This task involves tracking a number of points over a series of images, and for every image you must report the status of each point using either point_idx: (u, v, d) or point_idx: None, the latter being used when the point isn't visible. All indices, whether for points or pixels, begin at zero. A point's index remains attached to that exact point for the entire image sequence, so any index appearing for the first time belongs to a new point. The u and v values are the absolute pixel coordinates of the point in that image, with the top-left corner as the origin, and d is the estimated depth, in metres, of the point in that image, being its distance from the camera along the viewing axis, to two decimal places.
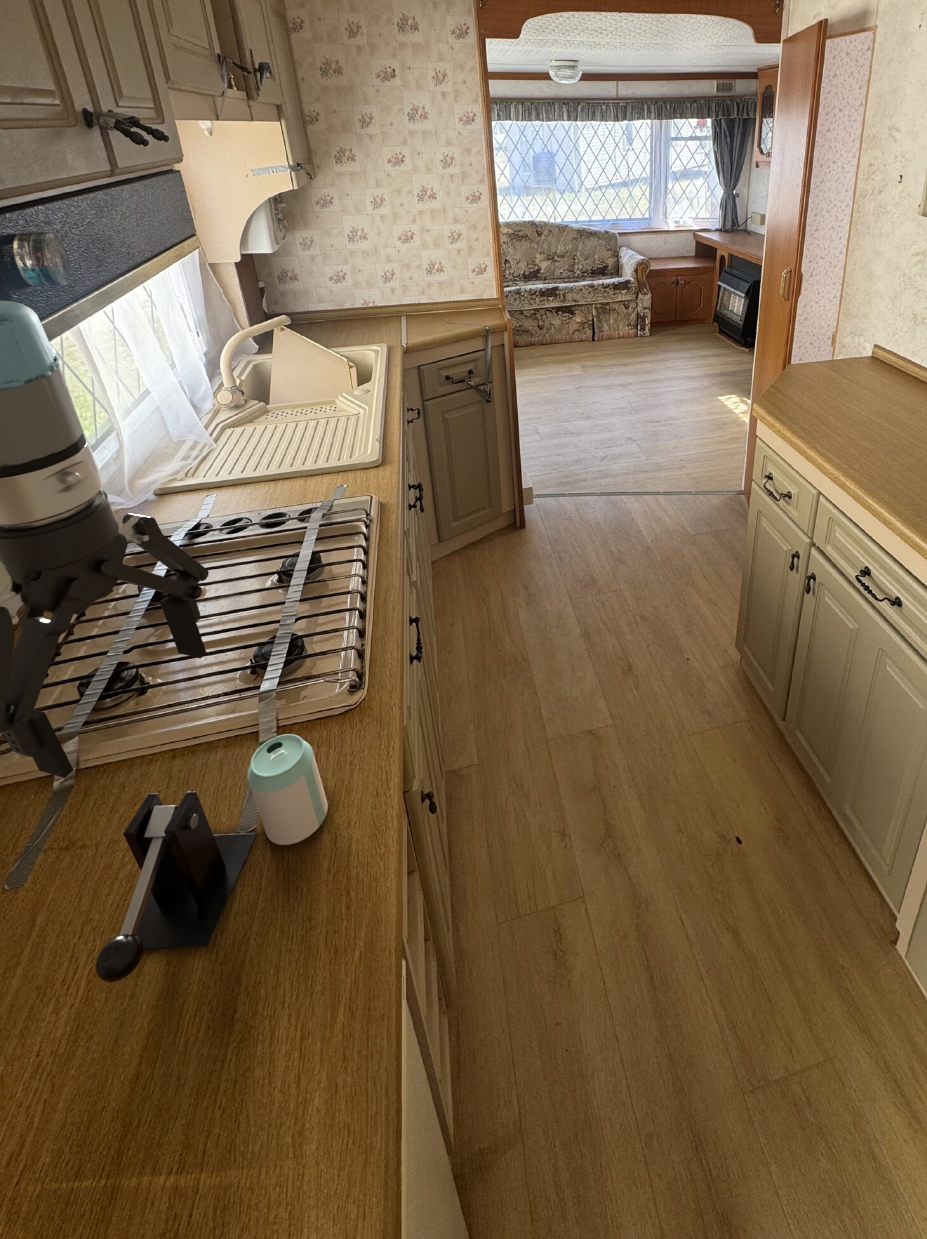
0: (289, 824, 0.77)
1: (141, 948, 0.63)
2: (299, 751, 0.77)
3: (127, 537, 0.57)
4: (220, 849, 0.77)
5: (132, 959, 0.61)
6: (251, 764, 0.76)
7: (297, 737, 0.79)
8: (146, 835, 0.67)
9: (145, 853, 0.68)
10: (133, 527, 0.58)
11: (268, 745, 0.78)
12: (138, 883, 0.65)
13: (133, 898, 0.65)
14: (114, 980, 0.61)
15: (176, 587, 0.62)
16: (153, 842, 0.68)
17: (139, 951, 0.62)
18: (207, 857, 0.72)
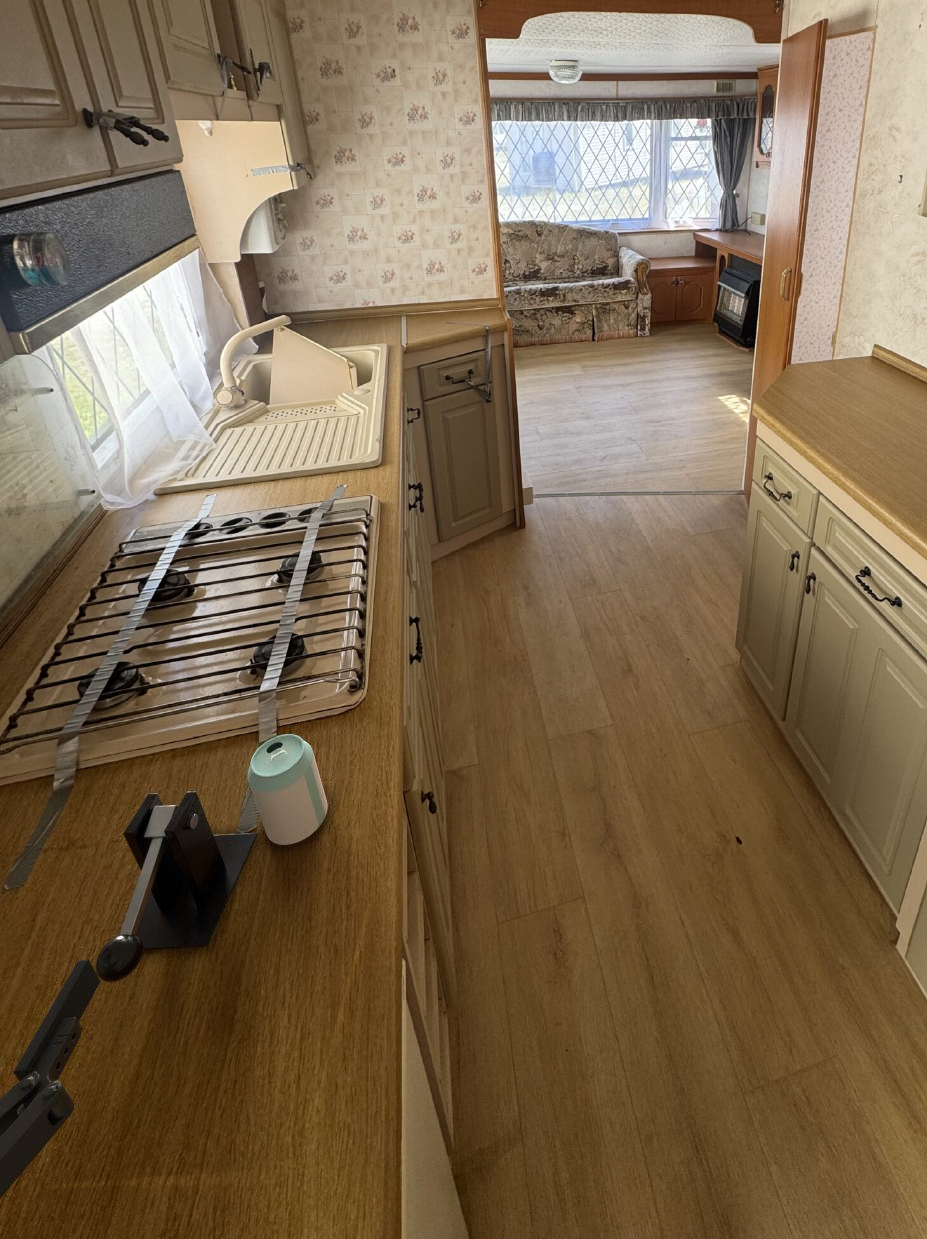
0: (289, 824, 0.77)
1: (141, 948, 0.63)
2: (299, 751, 0.77)
3: None
4: (220, 849, 0.77)
5: (132, 959, 0.61)
6: (251, 764, 0.76)
7: (297, 737, 0.79)
8: (146, 835, 0.67)
9: (145, 853, 0.68)
10: None
11: (268, 745, 0.78)
12: (138, 883, 0.65)
13: (133, 898, 0.65)
14: (114, 980, 0.61)
15: None
16: (153, 842, 0.68)
17: (139, 951, 0.62)
18: (207, 857, 0.72)
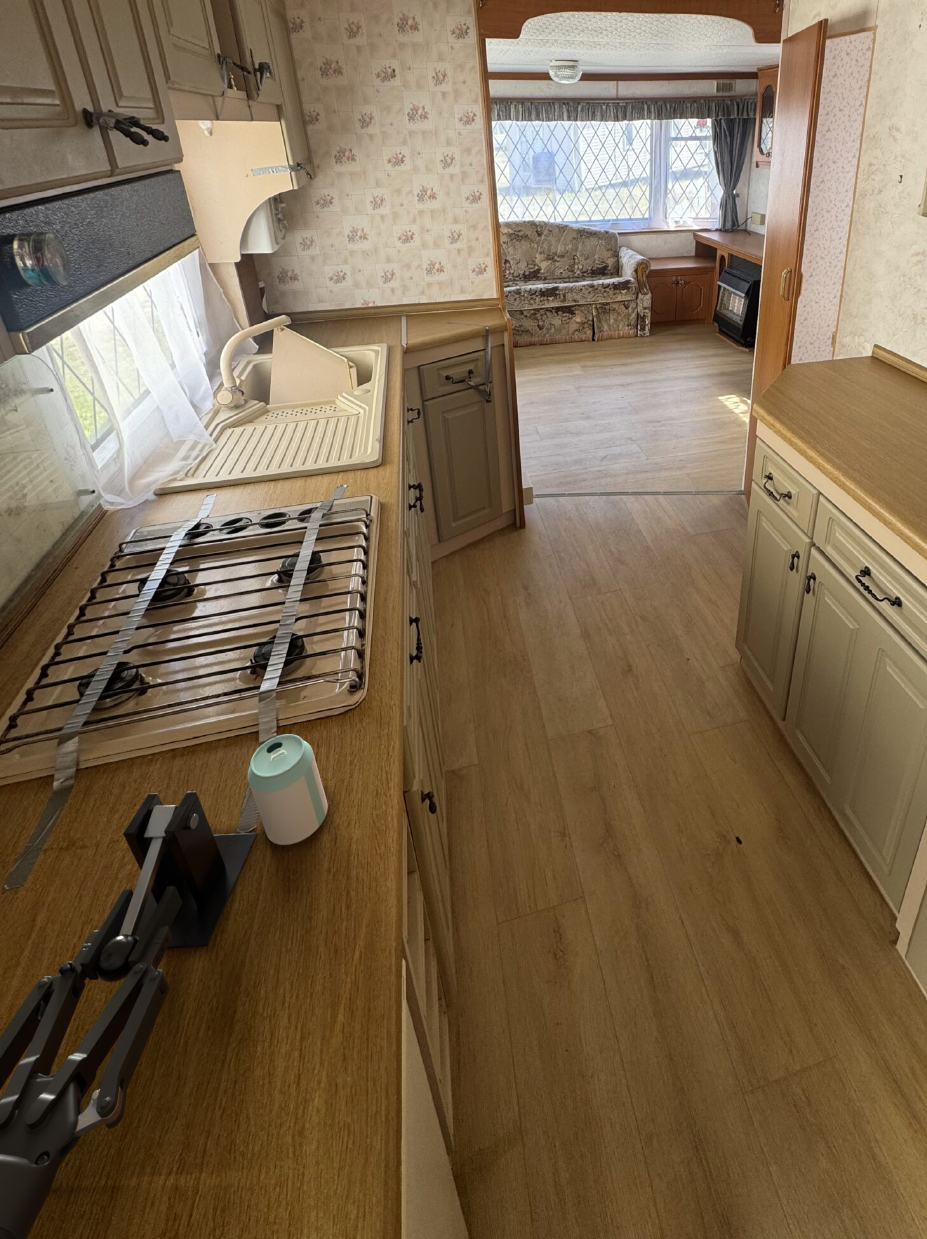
0: (289, 824, 0.77)
1: None
2: (299, 751, 0.77)
3: None
4: (220, 849, 0.77)
5: None
6: (251, 764, 0.76)
7: (297, 737, 0.79)
8: (146, 835, 0.67)
9: (145, 853, 0.68)
10: None
11: (268, 745, 0.78)
12: (138, 883, 0.65)
13: (133, 898, 0.65)
14: (114, 980, 0.61)
15: None
16: (153, 842, 0.68)
17: None
18: (207, 857, 0.72)
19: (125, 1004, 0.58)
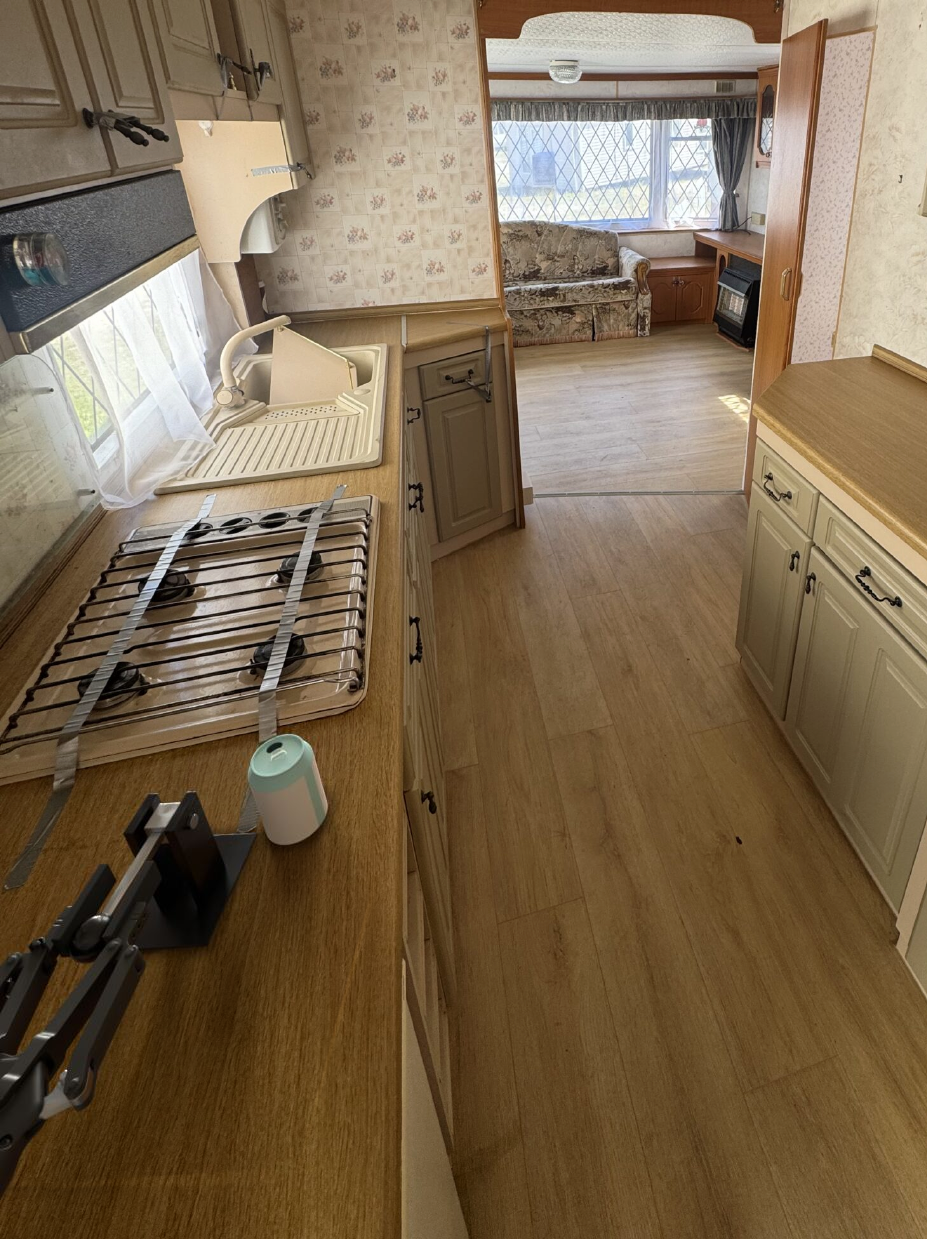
0: (289, 824, 0.77)
1: None
2: (299, 751, 0.77)
3: None
4: (220, 849, 0.77)
5: None
6: (251, 764, 0.76)
7: (297, 737, 0.79)
8: (146, 826, 0.67)
9: None
10: None
11: (268, 745, 0.78)
12: (129, 870, 0.64)
13: (121, 883, 0.63)
14: (85, 956, 0.57)
15: None
16: (151, 836, 0.67)
17: None
18: (207, 857, 0.72)
19: (97, 981, 0.55)
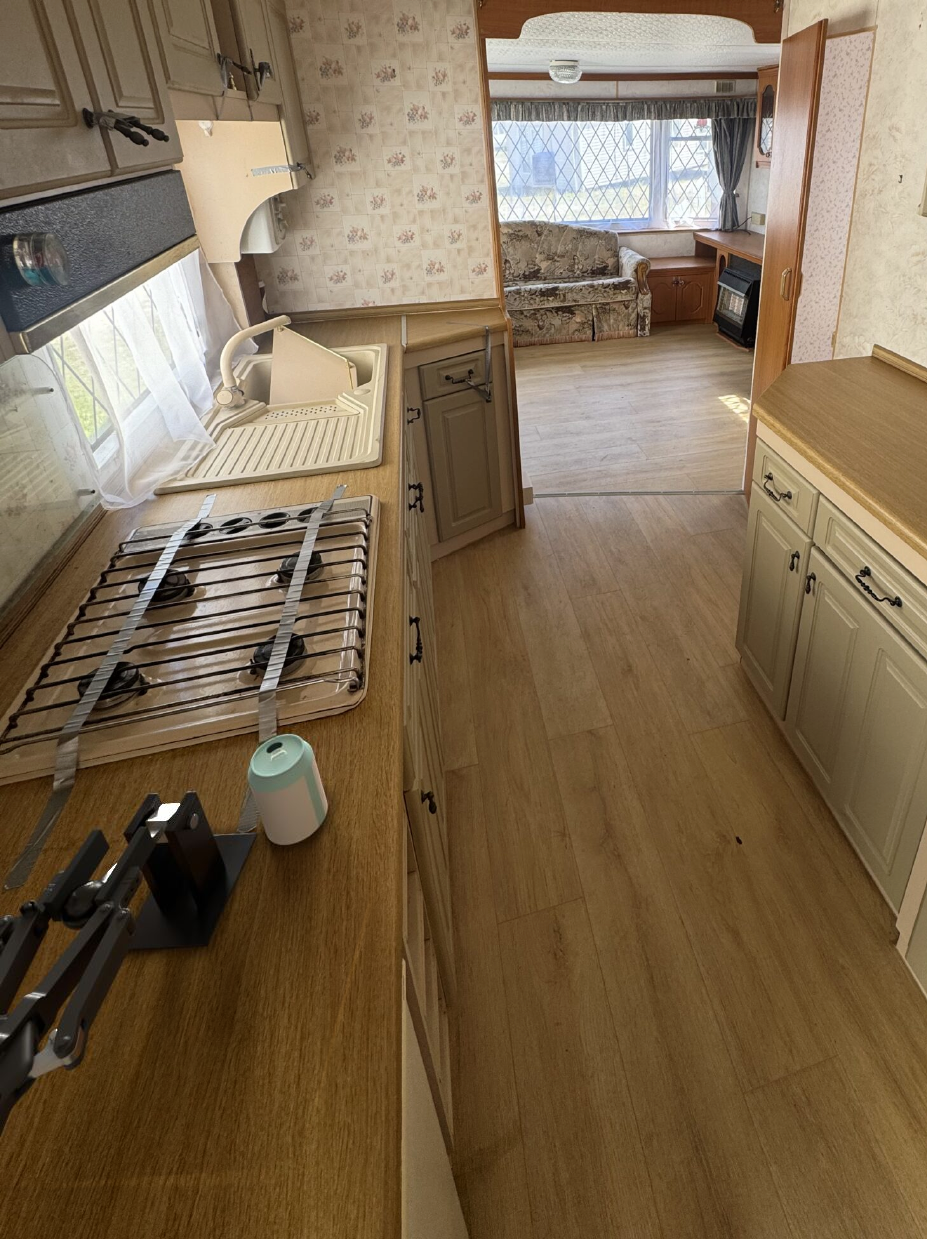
0: (289, 824, 0.77)
1: None
2: (299, 751, 0.77)
3: None
4: (220, 849, 0.77)
5: None
6: (251, 764, 0.76)
7: (297, 737, 0.79)
8: (148, 820, 0.68)
9: None
10: None
11: (268, 745, 0.78)
12: None
13: None
14: (76, 915, 0.56)
15: None
16: (151, 830, 0.67)
17: None
18: (207, 857, 0.72)
19: (89, 943, 0.54)
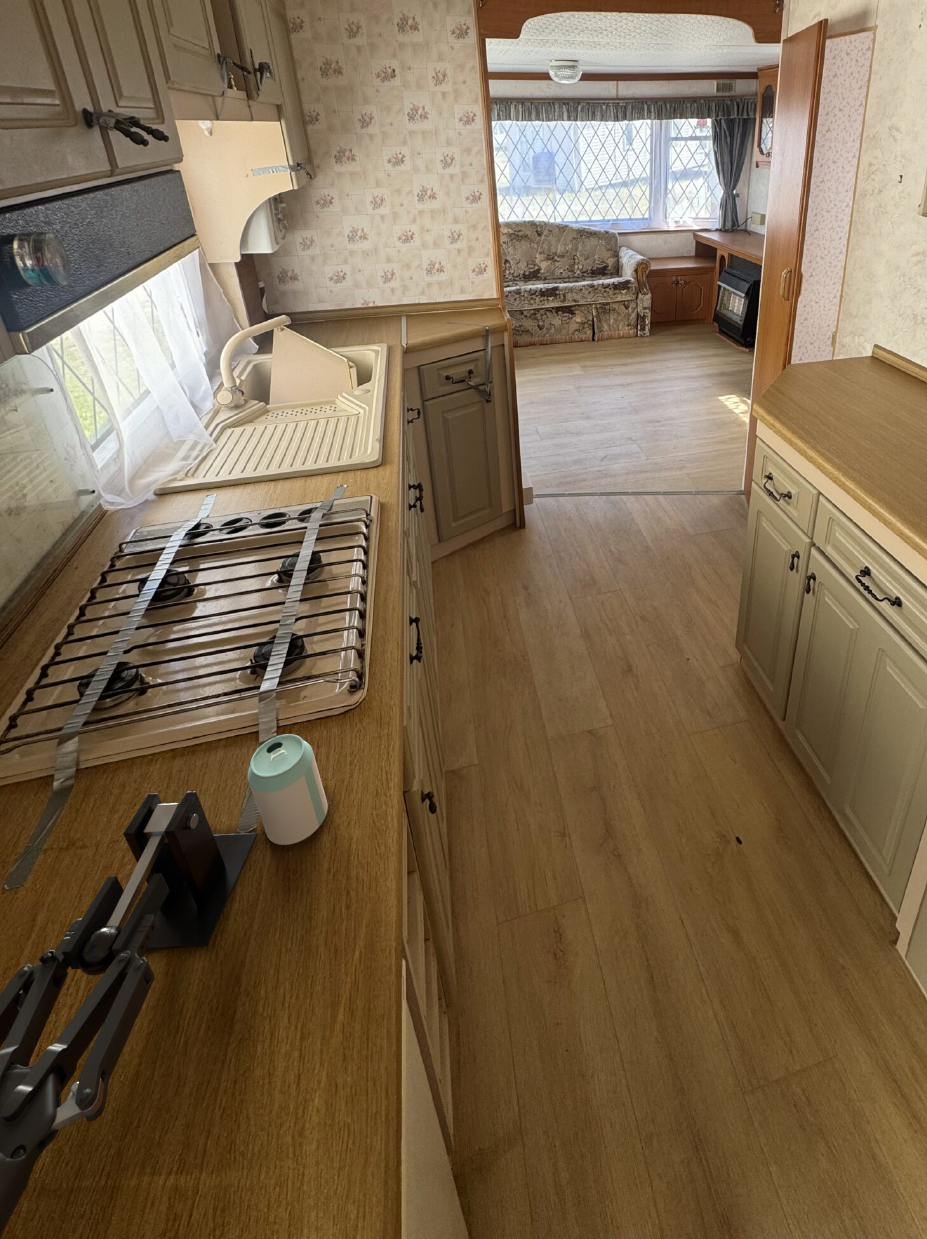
0: (289, 824, 0.77)
1: None
2: (299, 751, 0.77)
3: None
4: (220, 849, 0.77)
5: None
6: (251, 764, 0.76)
7: (297, 737, 0.79)
8: (146, 830, 0.67)
9: None
10: None
11: (268, 745, 0.78)
12: (132, 877, 0.64)
13: (125, 891, 0.63)
14: (95, 971, 0.58)
15: None
16: (151, 839, 0.67)
17: None
18: (207, 857, 0.72)
19: (107, 993, 0.56)
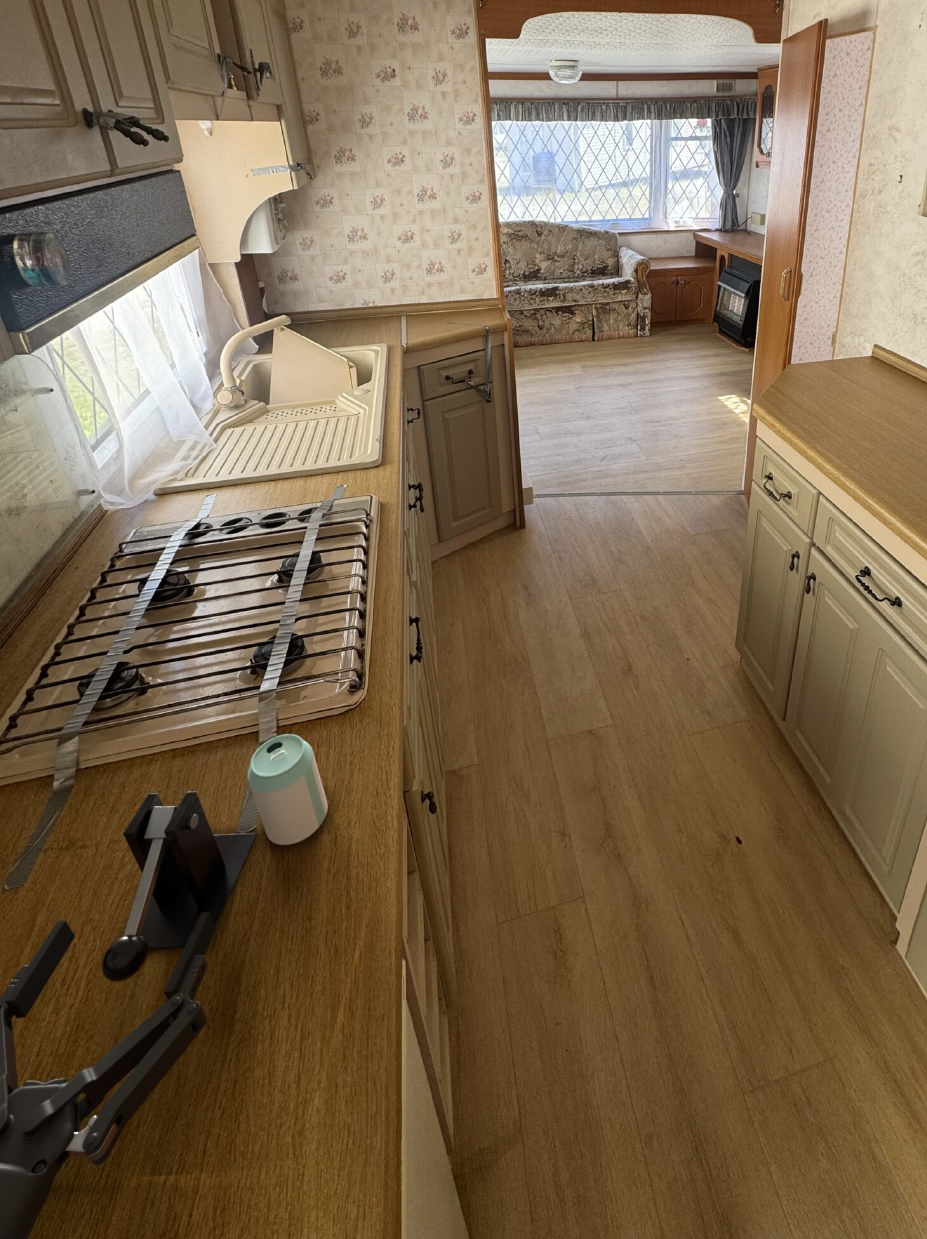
0: (289, 824, 0.77)
1: (146, 948, 0.63)
2: (299, 751, 0.77)
3: None
4: (220, 849, 0.77)
5: (137, 959, 0.62)
6: (251, 764, 0.76)
7: (297, 737, 0.79)
8: (146, 836, 0.67)
9: (145, 853, 0.68)
10: None
11: (268, 745, 0.78)
12: (140, 884, 0.66)
13: (136, 899, 0.65)
14: (120, 980, 0.61)
15: None
16: (154, 843, 0.68)
17: (144, 952, 0.63)
18: (207, 857, 0.72)
19: (149, 1036, 0.56)
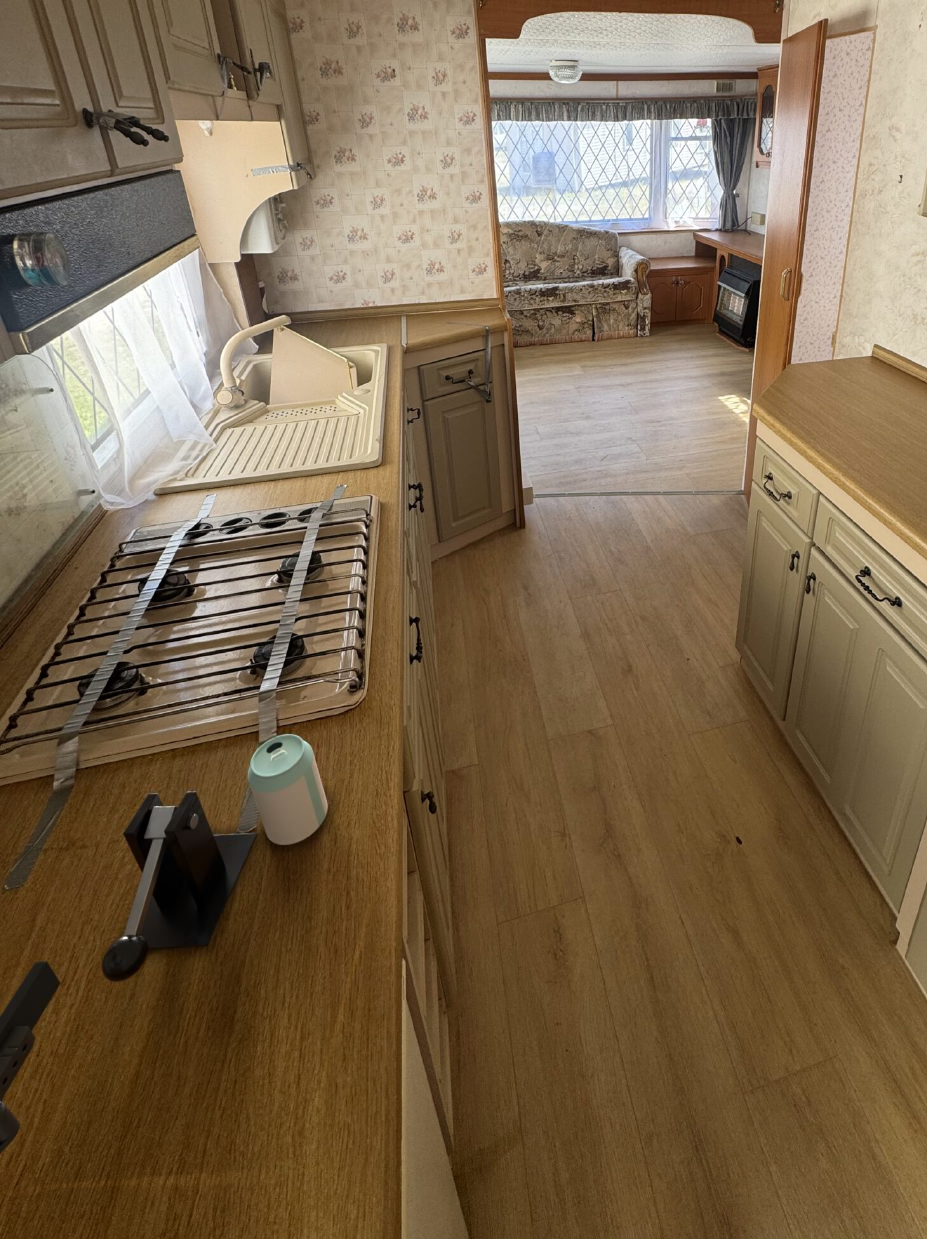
0: (289, 824, 0.77)
1: (146, 948, 0.63)
2: (299, 751, 0.77)
3: None
4: (220, 849, 0.77)
5: (137, 959, 0.62)
6: (251, 764, 0.76)
7: (297, 737, 0.79)
8: (146, 836, 0.67)
9: (145, 853, 0.68)
10: None
11: (268, 745, 0.78)
12: (140, 884, 0.66)
13: (136, 899, 0.65)
14: (120, 980, 0.61)
15: None
16: (154, 843, 0.68)
17: (144, 952, 0.63)
18: (207, 857, 0.72)
19: None
